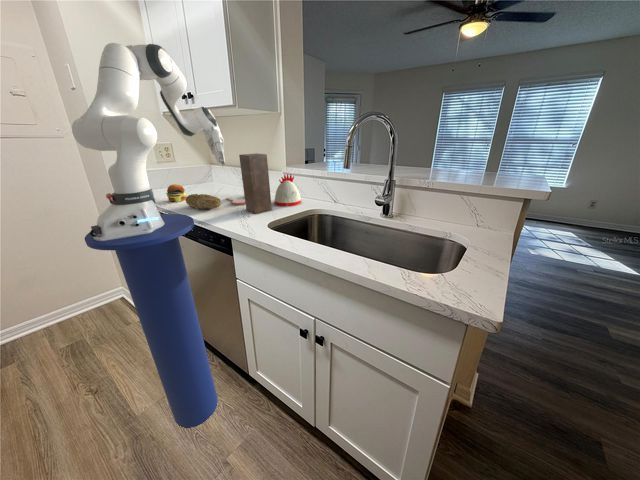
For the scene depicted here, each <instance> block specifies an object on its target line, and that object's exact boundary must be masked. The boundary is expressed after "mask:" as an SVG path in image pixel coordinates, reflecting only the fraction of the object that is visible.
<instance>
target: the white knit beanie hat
mask: <svg viewBox="0 0 640 480" xmlns="http://www.w3.org/2000/svg"><path fill="white" fill-rule="evenodd" d="M280 178H281V179H278V182H279V185H278V186H277V188H276V190H275V195H274V204H275V205H276V206H278V207H293V206H297V205H300V204H301V203H302V198H301V194H300V192H299V190H298V189H299V188H298V187H297V186H296V184H295V183H293V182H294V179H295V176H292V174H291V173H290V174H288V173H286V174H284V175H283V176H281V177H280Z"/></svg>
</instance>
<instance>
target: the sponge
mask: <svg viewBox="0 0 640 480" xmlns="http://www.w3.org/2000/svg"><path fill="white" fill-rule="evenodd" d="M185 203H186V204H187V205H188V207H189V206H190V207H193V208H196V209H201V210H206V209H207V210H209V209H211V210H212V209H215V208H220V206H221V205H222V203H221V199H220V198H219V197H217V196H214V195H211V194H207V193H205V194H203V193H201V194H200V193H199V194H198V193H192V194H191V193H190V194H187V196H186V199H185Z"/></svg>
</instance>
